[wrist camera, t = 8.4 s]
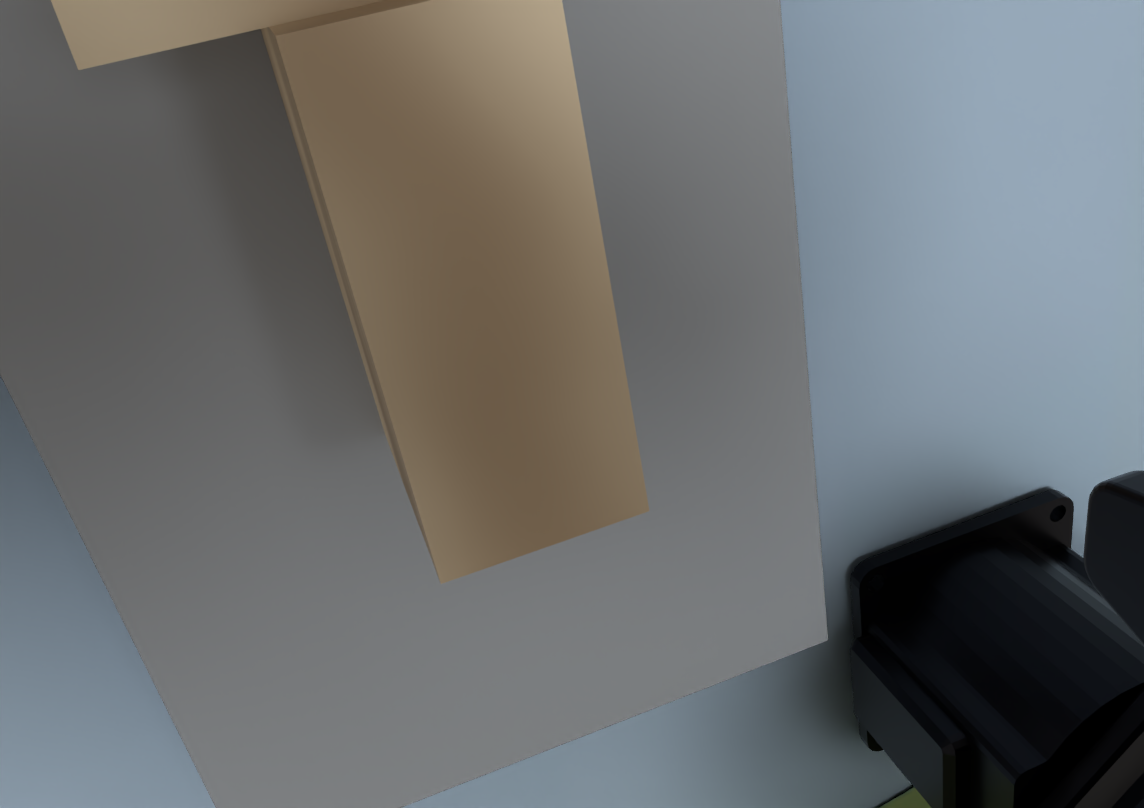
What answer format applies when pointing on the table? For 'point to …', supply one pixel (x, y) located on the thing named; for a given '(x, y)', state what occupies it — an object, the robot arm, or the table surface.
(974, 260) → the table surface
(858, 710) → the robot arm
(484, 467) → the tan stepped block
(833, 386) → the table surface
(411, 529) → the board
